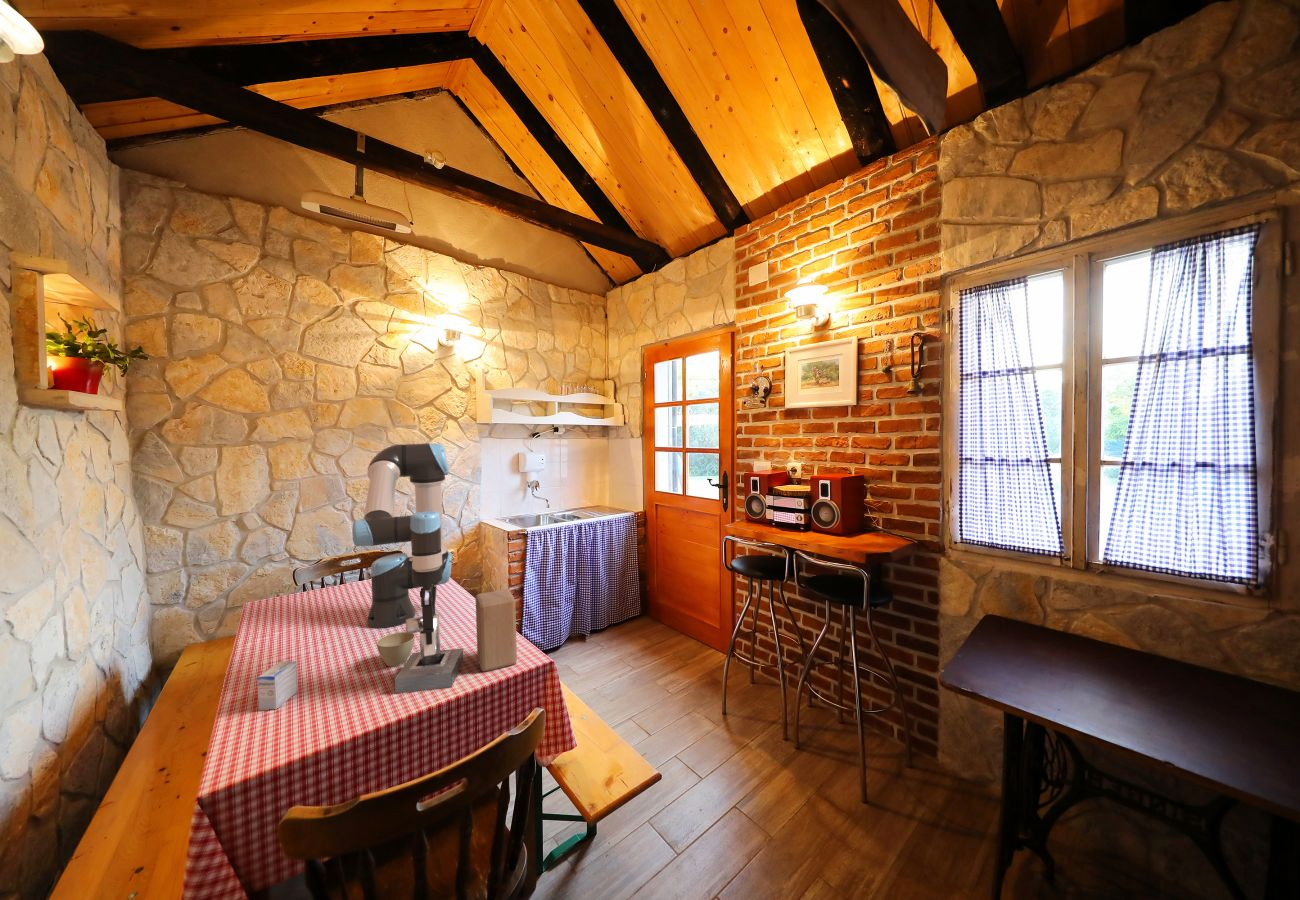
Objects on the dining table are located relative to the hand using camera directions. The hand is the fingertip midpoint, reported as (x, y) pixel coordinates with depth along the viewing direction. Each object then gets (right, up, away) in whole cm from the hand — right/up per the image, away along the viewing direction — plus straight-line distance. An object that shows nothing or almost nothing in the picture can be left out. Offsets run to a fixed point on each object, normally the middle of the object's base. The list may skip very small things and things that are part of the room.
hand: (430, 649), depth 129 cm
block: (+16, -7, +8) cm, 19 cm away
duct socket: (0, -8, 0) cm, 8 cm away
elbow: (-1, -3, -1) cm, 3 cm away
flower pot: (-14, -8, +9) cm, 18 cm away
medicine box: (-34, -9, -10) cm, 37 cm away
